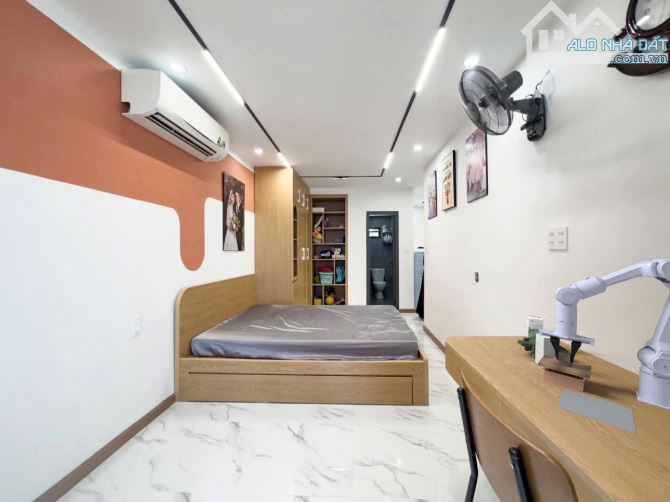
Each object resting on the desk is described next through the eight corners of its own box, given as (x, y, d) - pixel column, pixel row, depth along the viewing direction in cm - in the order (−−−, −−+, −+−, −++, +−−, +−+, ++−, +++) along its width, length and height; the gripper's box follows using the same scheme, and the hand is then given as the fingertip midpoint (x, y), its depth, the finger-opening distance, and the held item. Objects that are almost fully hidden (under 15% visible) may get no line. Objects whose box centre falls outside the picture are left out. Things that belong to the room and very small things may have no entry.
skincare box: (555, 369, 103) (556, 338, 103) (542, 368, 104) (543, 337, 104) (546, 363, 109) (547, 334, 109) (534, 362, 110) (535, 333, 110)
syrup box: (541, 346, 129) (541, 316, 129) (542, 350, 124) (543, 319, 124) (526, 344, 132) (527, 314, 132) (527, 347, 127) (528, 317, 127)
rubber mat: (632, 410, 77) (632, 409, 77) (635, 434, 66) (635, 433, 66) (563, 390, 88) (563, 388, 88) (557, 408, 77) (557, 406, 77)
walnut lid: (591, 369, 93) (591, 354, 93) (589, 379, 84) (589, 362, 84) (544, 357, 102) (544, 344, 102) (537, 365, 93) (538, 351, 93)
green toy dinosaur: (561, 379, 107) (583, 358, 106) (519, 345, 113) (539, 325, 112) (549, 371, 118) (568, 352, 116) (511, 340, 124) (530, 322, 122)
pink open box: (584, 382, 93) (585, 371, 93) (582, 392, 86) (583, 380, 86) (548, 372, 100) (548, 362, 100) (543, 381, 93) (544, 370, 93)
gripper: (537, 319, 95) (536, 357, 96) (594, 328, 85) (593, 371, 85) (541, 316, 100) (540, 352, 100) (595, 324, 90) (594, 364, 90)
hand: (564, 360), depth 93 cm, fingers closed on walnut lid, 3 cm apart
